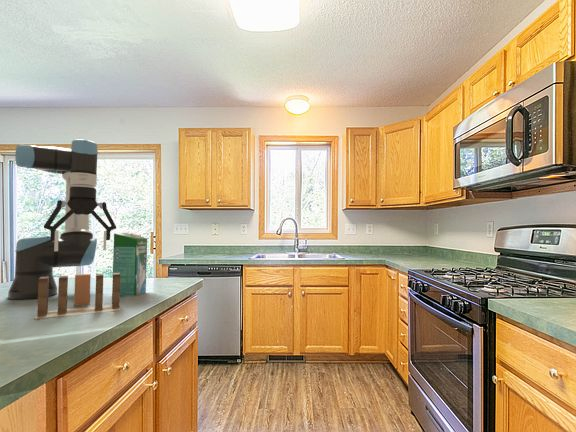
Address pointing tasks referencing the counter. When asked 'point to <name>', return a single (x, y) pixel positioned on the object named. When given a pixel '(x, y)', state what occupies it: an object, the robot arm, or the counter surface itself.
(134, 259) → the milk carton
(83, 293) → the rust tile
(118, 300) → the domino
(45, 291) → the domino
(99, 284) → the domino
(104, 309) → the birch board
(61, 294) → the domino
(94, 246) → the robot arm
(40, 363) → the counter surface
